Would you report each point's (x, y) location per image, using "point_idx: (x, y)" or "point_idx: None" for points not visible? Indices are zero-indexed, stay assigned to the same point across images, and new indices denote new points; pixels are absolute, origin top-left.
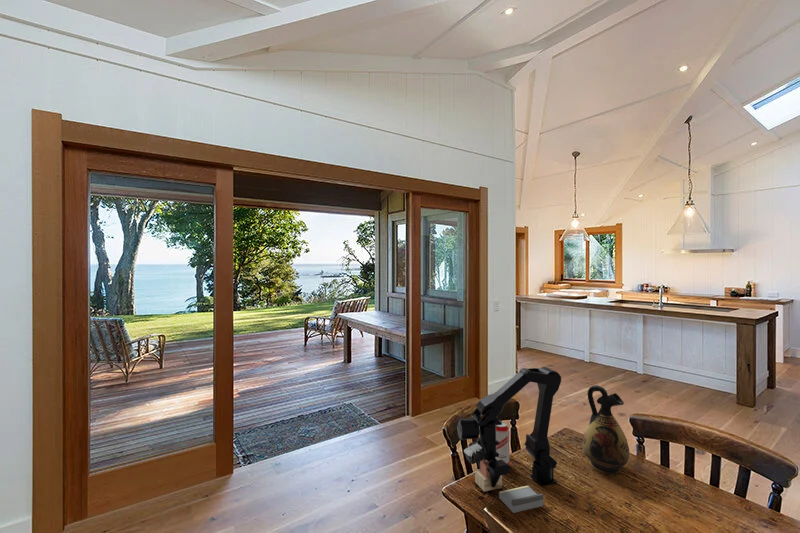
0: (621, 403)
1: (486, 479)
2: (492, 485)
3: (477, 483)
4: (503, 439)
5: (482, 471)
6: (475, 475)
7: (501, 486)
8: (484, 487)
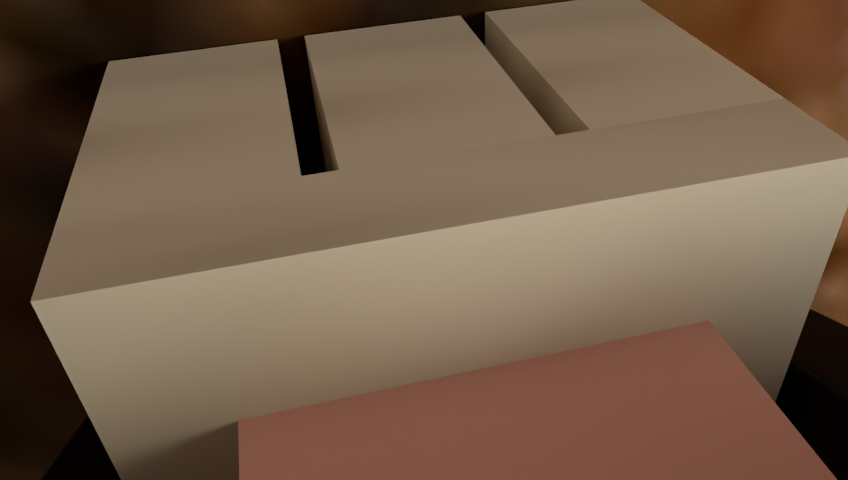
0: None
1: (81, 399)
2: None
3: (516, 17)
4: None
5: (575, 425)
6: (725, 71)
7: None
8: (101, 137)
